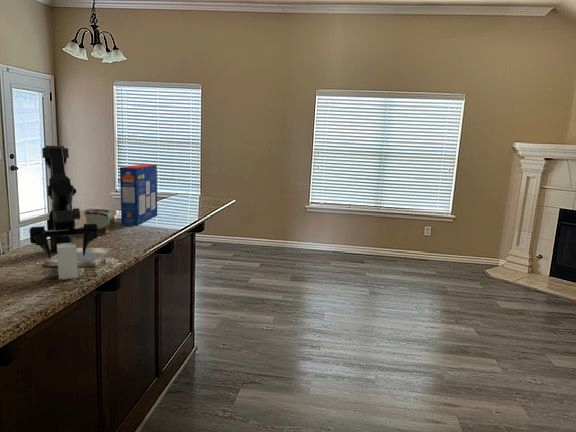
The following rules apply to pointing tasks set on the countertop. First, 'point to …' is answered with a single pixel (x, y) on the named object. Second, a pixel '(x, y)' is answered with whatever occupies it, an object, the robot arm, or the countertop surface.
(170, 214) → the countertop surface
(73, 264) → the grey post
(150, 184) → the pasta box
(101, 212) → the food container
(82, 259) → the board
